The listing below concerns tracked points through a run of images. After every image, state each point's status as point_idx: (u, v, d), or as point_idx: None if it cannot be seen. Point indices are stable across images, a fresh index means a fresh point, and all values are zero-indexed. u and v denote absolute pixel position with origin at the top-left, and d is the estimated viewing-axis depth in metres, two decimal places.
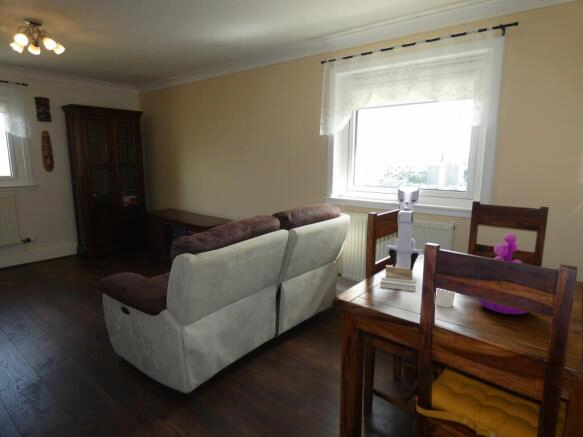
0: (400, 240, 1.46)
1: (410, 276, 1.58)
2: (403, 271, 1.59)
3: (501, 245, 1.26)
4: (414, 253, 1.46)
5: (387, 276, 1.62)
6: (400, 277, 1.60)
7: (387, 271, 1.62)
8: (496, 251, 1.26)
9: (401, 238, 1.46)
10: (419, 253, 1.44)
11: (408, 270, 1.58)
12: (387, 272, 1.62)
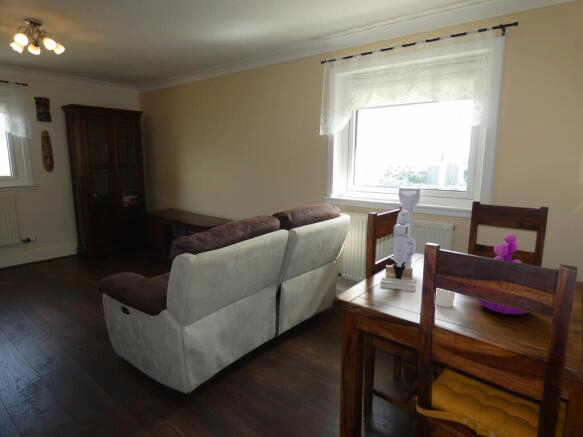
0: None
1: (410, 276, 1.58)
2: (403, 271, 1.59)
3: (501, 245, 1.26)
4: (397, 264, 1.56)
5: (387, 276, 1.62)
6: None
7: (387, 271, 1.62)
8: (496, 251, 1.26)
9: (396, 249, 1.58)
10: (396, 264, 1.54)
11: (408, 270, 1.58)
12: (387, 272, 1.62)
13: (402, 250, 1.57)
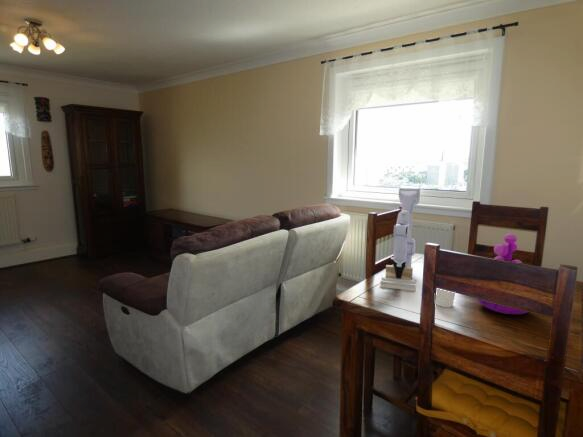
0: None
1: (410, 276, 1.58)
2: (403, 271, 1.59)
3: (501, 245, 1.26)
4: (397, 264, 1.56)
5: (387, 276, 1.62)
6: None
7: (387, 271, 1.62)
8: (496, 251, 1.26)
9: (396, 249, 1.58)
10: (396, 265, 1.54)
11: (408, 270, 1.58)
12: (387, 272, 1.62)
13: (402, 250, 1.57)
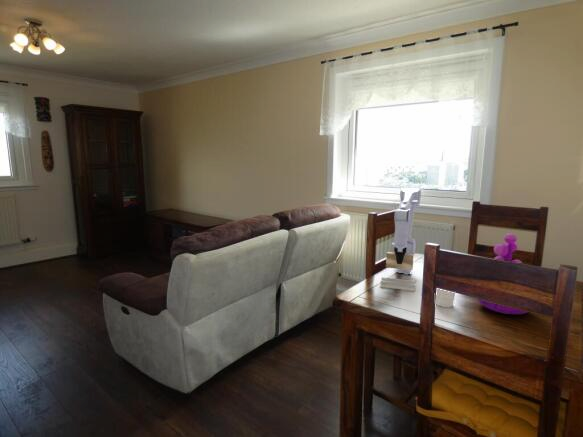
0: None
1: (411, 262, 1.57)
2: (404, 258, 1.58)
3: (501, 245, 1.26)
4: (398, 249, 1.55)
5: (388, 263, 1.61)
6: (401, 264, 1.59)
7: (388, 258, 1.61)
8: (496, 251, 1.26)
9: (397, 235, 1.56)
10: (397, 250, 1.53)
11: (409, 256, 1.57)
12: (388, 259, 1.61)
13: (403, 235, 1.55)
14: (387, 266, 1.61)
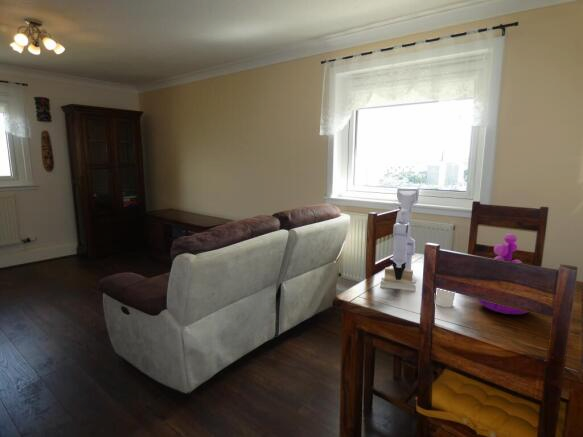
0: None
1: (410, 279, 1.51)
2: (403, 274, 1.52)
3: (501, 245, 1.26)
4: (396, 265, 1.49)
5: (386, 279, 1.55)
6: (400, 280, 1.53)
7: (386, 274, 1.54)
8: (496, 251, 1.26)
9: (396, 250, 1.50)
10: None
11: (408, 273, 1.51)
12: (386, 275, 1.55)
13: (402, 250, 1.49)
14: None
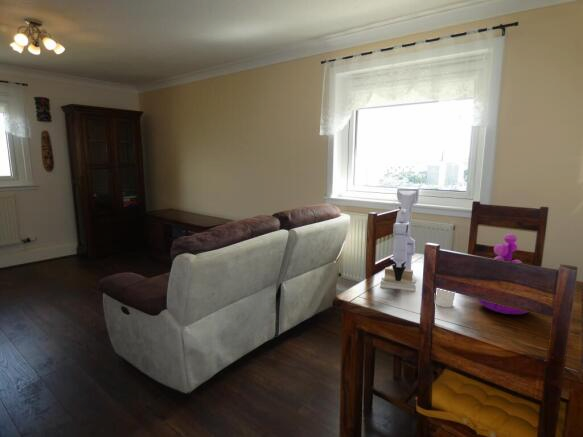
0: None
1: (410, 279, 1.51)
2: (403, 274, 1.52)
3: (501, 245, 1.26)
4: None
5: (386, 279, 1.55)
6: None
7: (386, 274, 1.54)
8: (496, 251, 1.26)
9: (396, 249, 1.50)
10: (396, 265, 1.47)
11: (408, 273, 1.51)
12: (386, 275, 1.55)
13: (402, 250, 1.49)
14: None
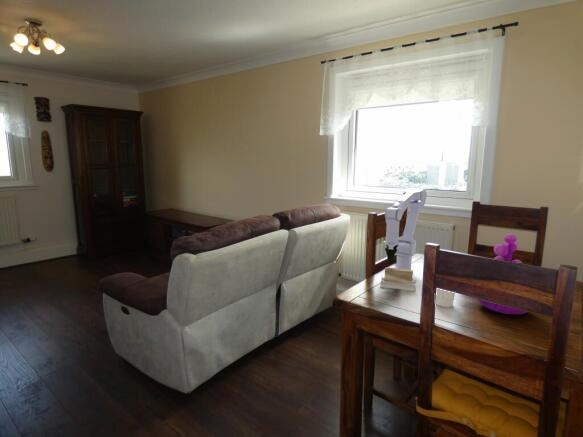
0: None
1: (410, 279, 1.51)
2: (403, 274, 1.52)
3: (501, 245, 1.26)
4: (389, 247, 1.57)
5: (386, 279, 1.55)
6: (400, 280, 1.53)
7: (386, 274, 1.54)
8: (496, 251, 1.26)
9: (387, 232, 1.59)
10: (388, 247, 1.55)
11: (408, 273, 1.51)
12: (386, 275, 1.55)
13: (392, 233, 1.58)
14: None
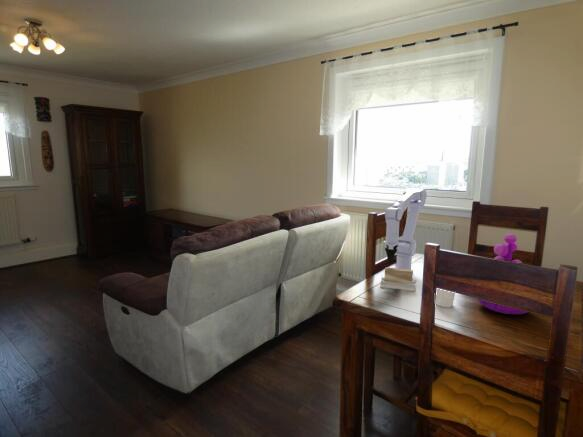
0: None
1: (410, 279, 1.51)
2: (403, 274, 1.52)
3: (501, 245, 1.26)
4: (389, 247, 1.57)
5: (386, 279, 1.55)
6: (400, 280, 1.53)
7: (386, 274, 1.54)
8: (496, 251, 1.26)
9: (387, 232, 1.59)
10: (388, 247, 1.55)
11: (408, 273, 1.51)
12: (386, 275, 1.55)
13: (392, 233, 1.58)
14: None
